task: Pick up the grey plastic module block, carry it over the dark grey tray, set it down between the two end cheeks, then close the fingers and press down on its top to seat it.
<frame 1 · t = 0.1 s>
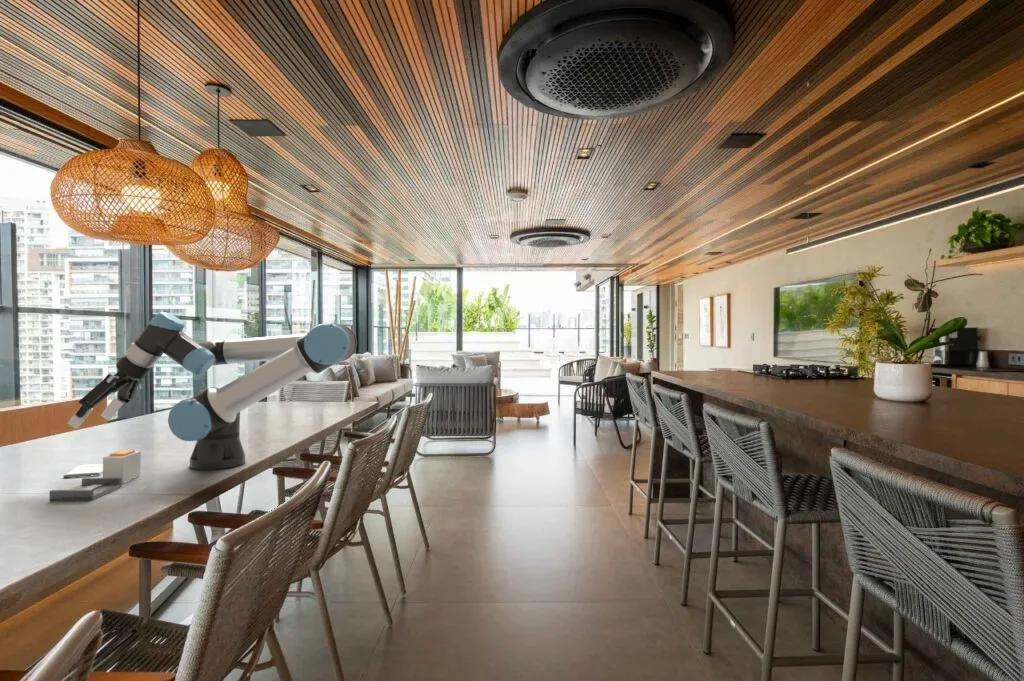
hand: (89, 421, 148), 15 cm above the table, tool tilted 35°, fingers open, 13 cm apart
module: (121, 479, 146), on the table
dark grey tray: (87, 494, 132), on the table
external hard drive: (89, 474, 153), on the table
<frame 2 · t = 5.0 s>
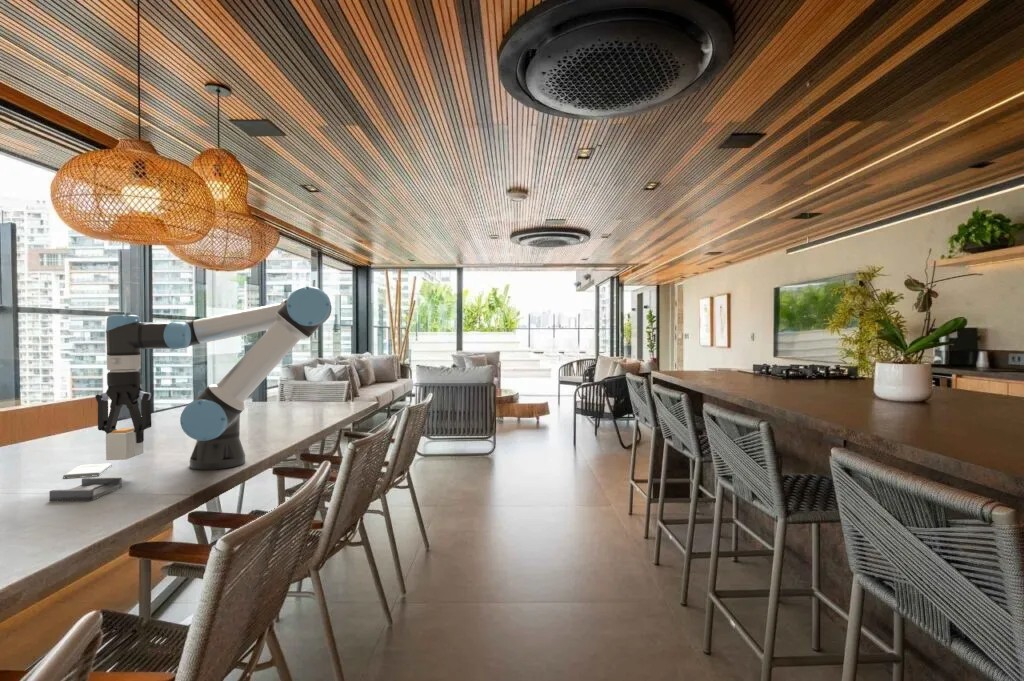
hand: (125, 455, 146), 7 cm above the table, tool pointing down, fingers closed on module, 5 cm apart
module: (125, 456, 146), point 6 cm above the table, touching gripper
everything else where it was.
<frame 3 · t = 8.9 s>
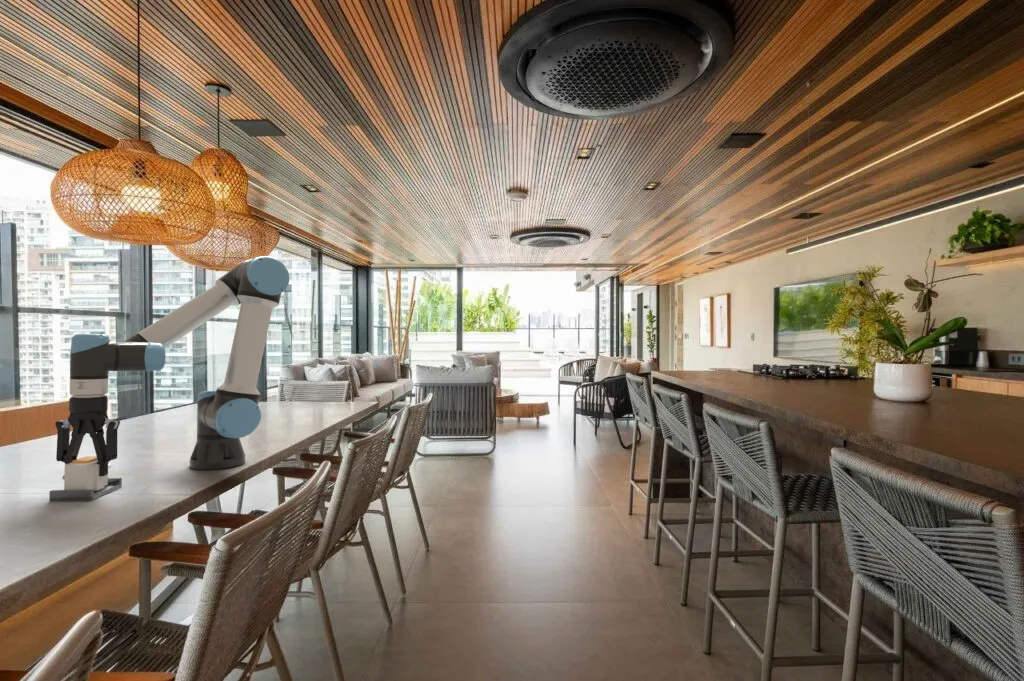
hand: (86, 489, 132), 1 cm above the table, tool pointing down, fingers closed on module, 5 cm apart
module: (86, 488, 132), point 1 cm above the table, touching gripper, dark grey tray
everything else where it was.
when the fingers open (1 cm above the table, at t = 9.0 s): module stays where it is, resting on dark grey tray.
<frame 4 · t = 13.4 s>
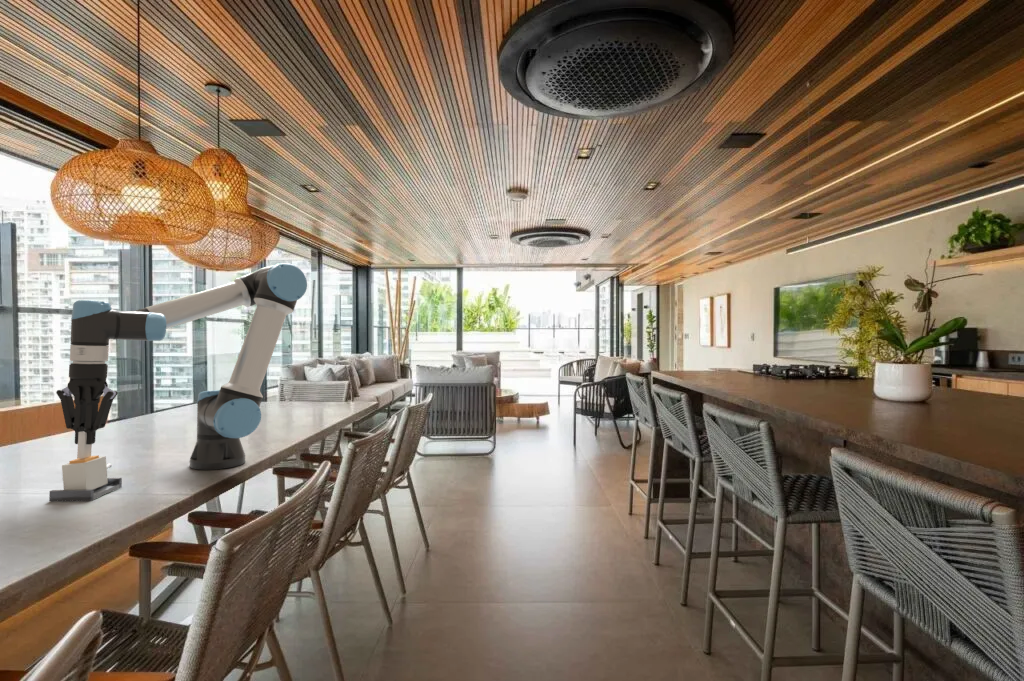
hand: (84, 457, 132), 9 cm above the table, tool pointing down, fingers closed
module: (86, 488, 132), point 1 cm above the table, touching gripper, dark grey tray
everything else where it was.
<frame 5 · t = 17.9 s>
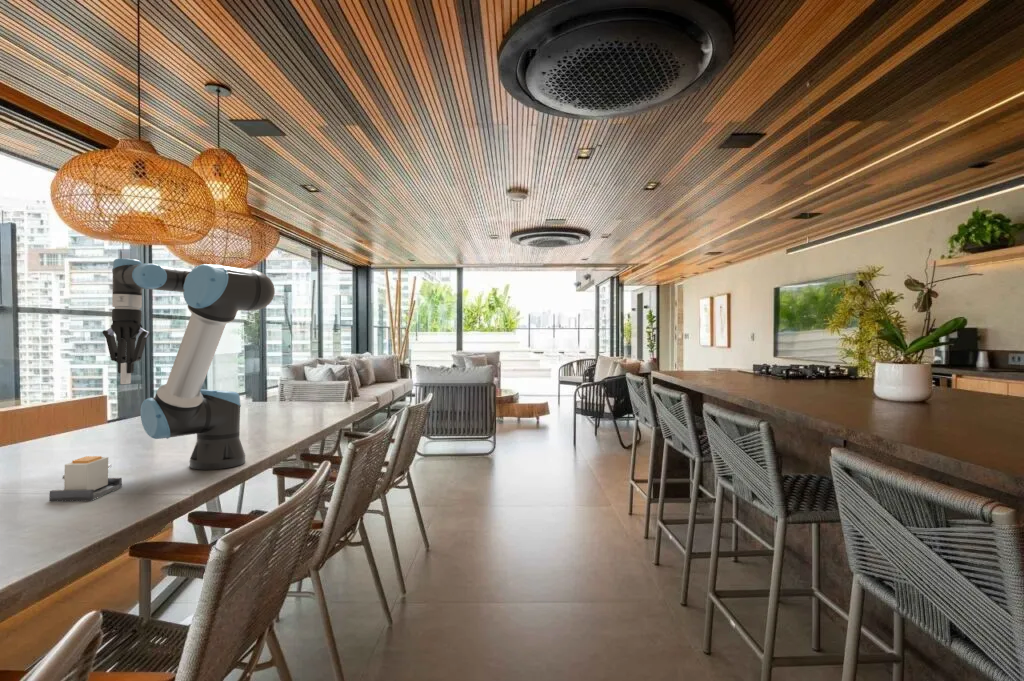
hand: (125, 383, 166), 24 cm above the table, tool pointing down, fingers closed
module: (86, 488, 132), point 1 cm above the table, touching dark grey tray
everything else where it was.
at the end: module inside the target area (0.1 cm from its centre), point 1.3 cm above the table; module tilted 0°; the gripper is holding nothing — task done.
